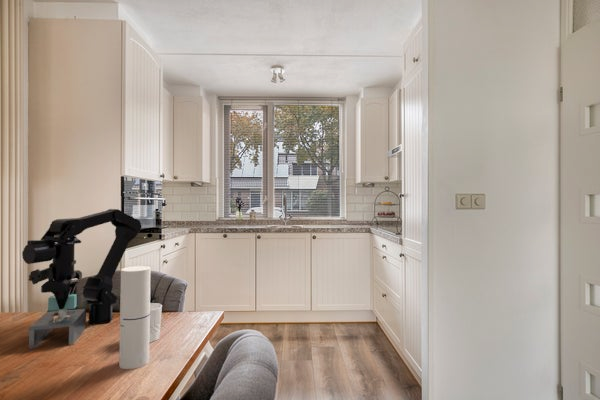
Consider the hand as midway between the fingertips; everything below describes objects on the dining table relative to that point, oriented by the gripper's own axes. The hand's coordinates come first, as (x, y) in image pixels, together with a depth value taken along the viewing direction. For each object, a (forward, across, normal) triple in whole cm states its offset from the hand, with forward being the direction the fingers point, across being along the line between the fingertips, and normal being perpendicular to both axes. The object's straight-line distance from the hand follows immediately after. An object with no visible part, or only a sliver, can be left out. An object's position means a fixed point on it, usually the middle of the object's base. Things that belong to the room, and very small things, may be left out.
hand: (62, 307), depth 108 cm
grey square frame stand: (+9, +3, 0) cm, 9 cm away
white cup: (+9, +12, +26) cm, 30 cm away
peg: (+5, 0, 0) cm, 5 cm away
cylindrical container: (+9, +28, +24) cm, 38 cm away
